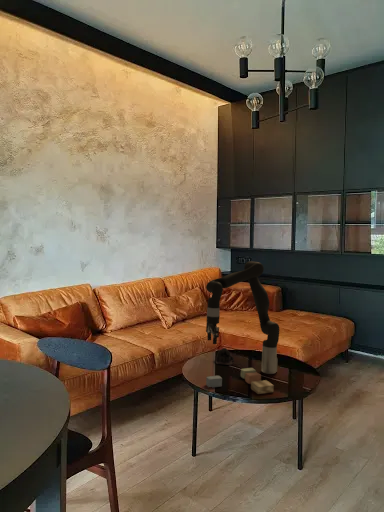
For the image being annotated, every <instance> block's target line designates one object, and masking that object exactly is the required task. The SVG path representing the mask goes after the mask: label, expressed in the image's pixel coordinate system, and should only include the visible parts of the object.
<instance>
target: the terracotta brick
mask: <svg viewBox="0 0 384 512" xmlns="http://www.w3.org/2000/svg"><path fill="white" fill-rule="evenodd" d="M254 381H262V374H260V373H259V372H257V371H256V372H255V373H246V378H245V379H244V382H245V383H247V384H248V385H251V382H254Z"/></svg>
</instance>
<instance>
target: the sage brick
mask: <svg viewBox="0 0 384 512" xmlns="http://www.w3.org/2000/svg"><path fill="white" fill-rule="evenodd" d="M255 372H257V371H256V369H254V368H253V367H246V368H245V367H244V368H240V378H242V379H244V380H245V378H246V373H255Z"/></svg>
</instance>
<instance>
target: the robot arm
mask: <svg viewBox="0 0 384 512" xmlns="http://www.w3.org/2000/svg"><path fill="white" fill-rule="evenodd" d="M264 269H265V267H264V266H263V264H262V263H261V262H258V261H253V260H252V261H247V262H246V263H245V264H244V269H243V270H241V271H234V272H232V273H228V274H227V275H225V276H222V277H220V278H219V277H218V278H216V279H212V280H210V281H208V282H207V284H206V287H205V288H206V289H205V290H206V291H207V292H208V293H211V297H208V298H207V308H206V309H207V310H206V327H205V332H206V334H207V339H206V340H207V341H211V340H212V345H217V343H218V342H217V341H218V338H219V337H220V327H219V326H218V324H220V316H221V315H220V314H221V311H220V307H221V306H220V303H221V302H220V301H221V298H222V295H223V290H224V289H228V288H230V287H232V286H235V285H237V284H239V283H241V282H243V281H248V284H249V286H250V290H251V294H252V297H253V301H254V306H255V307H256V308H255V309H256V311H257V316H258V320H259V325H260V326H259V327H260V330H261V332H262V333H263V334H264V335H267V337H266V339H264V340H263V341H262V349H261V352H262V353H261V372H262V373H264V374H267V375H273V374H274V375H275V374H276V372H277V373H278V357H277V352H278V351H277V350H278V344H279V339H280V325H279V324H278V323H277V322H276V321H275V322H274V321H272V320H271V319H270V316H269V309H270V298H269V296H268V291H267V290H266V289H265V287H264V286H263V284H262V283H261V282H260V280H259V277H260V276H262V275H263V273H264Z"/></svg>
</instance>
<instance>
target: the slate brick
mask: <svg viewBox="0 0 384 512" xmlns="http://www.w3.org/2000/svg"><path fill="white" fill-rule="evenodd" d="M205 378H206V379H205V385H206V386H207V387H208V388H209V387H212V388H219V387H222V386H223V378H222V377H221V376H220V375H211V376H210V375H209V376H206V377H205Z"/></svg>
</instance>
